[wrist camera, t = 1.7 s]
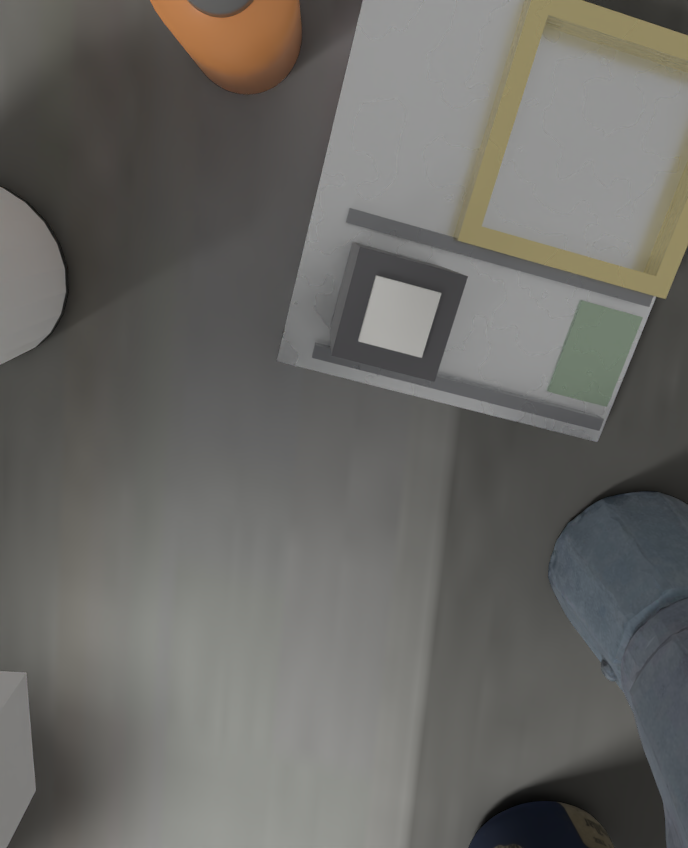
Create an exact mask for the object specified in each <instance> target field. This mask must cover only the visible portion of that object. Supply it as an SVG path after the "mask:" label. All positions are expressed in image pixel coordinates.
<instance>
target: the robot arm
mask: <svg viewBox="0 0 688 848" xmlns="http://www.w3.org/2000/svg"><path fill="white" fill-rule="evenodd" d="M35 791H36V785H35V772H34V760H33V747H32V735H31V722H30V710H29V697H28V685H27V672H9V671H0V848H7V846H8V844H9V842H10V840H11V838H12V836H13V834H14V833H15V831H16V829H17V827H18V825H19V823H20V821H21V819H22V817H23V815H24V813H25V811H26V809H27V807H28V805H29V803H30V801H31V799H32V797H33V795H34V793H35Z"/></svg>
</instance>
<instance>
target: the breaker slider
mask: <svg viewBox="0 0 688 848" xmlns="http://www.w3.org/2000/svg"><path fill="white" fill-rule="evenodd" d="M467 278H468V276H466V275H463V274H461V273H458V272H455V271H452V270H450V269H447V268H444V267H442V266H438V265H435V264H431V263H427V262H424V261H420V260H417V259H413V258H409V257H406V256H402V255H398V254H395V253H391V252H388V251H384V250H380V249H377V248H373V247H370V246H366V245H362V244H359V243H355V242H353V243H352V247H351V251H350V255H349V259H348V263H347V266H346V270H345V274H344V278H343V282H342V286H341V289H340V293H339V297H338V301H337V305H336V309H335V313H334V316H333V320H332V324H331V328H330V344H331V356H335V357H339V358H343V359H347V360H351V361H355V362H359V363H363V364H366V365H370V366H374V367H378V368H382V369H386V370H390V371H394V372H398V373H402V374H406V375H409V376H413V377H417V378H421V379H425V380H429V381H433V382H435V379H436V376H437V373H438V370H439V367H440V364H441V360H442V357H443V354H444V351H445V348H446V345H447V341H448V338H449V335H450V332H451V329H452V326H453V322H454V319H455V316H456V313H457V310H458V307H459V303H460V300H461V297H462V294H463V291H464V288H465V284H466V281H467Z"/></svg>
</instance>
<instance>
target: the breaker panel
mask: <svg viewBox="0 0 688 848" xmlns="http://www.w3.org/2000/svg"><path fill="white" fill-rule="evenodd" d="M353 242H355V243H359V244H362V245H366V246H370V247H373V248H377V249H380V250H384V251H388V252H391V253H395V254H398V255H402V256H406V257H409V258H413V259H417V260H420V261H424V262H427V263H431V264H435V265H438V266H442V267H444V268H447V269H450V270H452V271H455V272H458V273H461V274H463V275H466V276H468V278H467V281H466V284H465V288H464V291H463V294H462V297H461V300H460V303H459V307H458V310H457V313H456V316H455V319H454V322H453V326H452V329H451V332H450V335H449V338H448V341H447V345H446V348H445V351H444V354H443V357H442V360H441V364H440V367H439V370H438V373H437V376H436V379H435V382H433V381H429V380H425V379H421V378H417V377H413V376H409V375H406V374H402V373H398V372H394V371H390V370H386V369H382V368H378V367H374V366H370V365H366V364H363V363H359V362H355V361H351V360H347V359H343V358H339V357H335V356H331V344H330V328H331V324H332V320H333V316H334V313H335V309H336V305H337V301H338V297H339V293H340V289H341V286H342V282H343V278H344V274H345V270H346V266H347V263H348V259H349V255H350V251H351V247H352V243H353ZM687 246H688V35H685V34H682V33H679V32H676V31H673V30H670V29H667V28H664V27H661V26H658V25H655V24H652V23H649V22H646V21H643V20H640V19H637V18H634V17H631V16H628V15H625V14H622V13H619V12H616V11H613V10H610V9H607V8H604V7H601V6H598V5H595V4H592V3H589V2H586V1H583V0H363V1H362V6H361V10H360V14H359V18H358V22H357V26H356V31H355V35H354V39H353V43H352V47H351V52H350V56H349V60H348V64H347V68H346V73H345V77H344V81H343V85H342V89H341V93H340V98H339V102H338V106H337V110H336V114H335V119H334V123H333V127H332V131H331V135H330V140H329V144H328V148H327V152H326V156H325V160H324V165H323V169H322V173H321V177H320V181H319V186H318V190H317V194H316V198H315V202H314V207H313V211H312V215H311V219H310V223H309V228H308V232H307V236H306V240H305V244H304V248H303V253H302V257H301V261H300V265H299V269H298V274H297V278H296V282H295V286H294V290H293V295H292V299H291V303H290V307H289V311H288V315H287V320H286V324H285V328H284V332H283V336H282V341H281V345H280V349H279V353H278V357H277V361H278V362H282V363H286V364H290V365H294V366H298V367H302V368H306V369H310V370H314V371H318V372H322V373H326V374H330V375H333V376H337V377H341V378H345V379H349V380H353V381H357V382H361V383H365V384H369V385H373V386H377V387H381V388H385V389H389V390H393V391H397V392H401V393H405V394H409V395H413V396H417V397H421V398H425V399H429V400H433V401H436V402H440V403H444V404H448V405H452V406H456V407H460V408H464V409H468V410H472V411H476V412H480V413H484V414H488V415H492V416H496V417H500V418H504V419H508V420H512V421H516V422H520V423H524V424H528V425H532V426H536V427H540V428H543V429H547V430H551V431H555V432H559V433H563V434H567V435H571V436H575V437H579V438H583V439H587V440H591V441H595V442H598V440H599V437H600V435H601V432H602V430H603V427H604V425H605V422H606V420H607V417H608V415H609V412H610V410H611V407H612V405H613V403H614V400H615V398H616V395H617V393H618V390H619V388H620V385H621V383H622V380H623V378H624V375H625V373H626V370H627V368H628V365H629V363H630V361H631V358H632V356H633V353H634V351H635V348H636V346H637V343H638V341H639V338H640V336H641V333H642V331H643V328H644V326H645V323H646V321H647V318H648V316H649V314H650V311H651V309H652V306H653V304H654V301H655V299H656V297H658V298H663V299H666V297H667V295H668V292H669V290H670V287H671V285H672V282H673V280H674V278H675V275H676V273H677V270H678V268H679V265H680V263H681V260H682V258H683V256H684V253H685V251H686V248H687Z"/></svg>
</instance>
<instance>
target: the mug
mask: <svg viewBox="0 0 688 848" xmlns="http://www.w3.org/2000/svg"><path fill="white" fill-rule="evenodd" d="M67 296H68V271H67V265H66V262H65V259H64V255H63V252H62V249H61V246H60V243H59V242H58V240H57V238H56V237H55V235H54V233H53V232H52V230H51V228H50V226H49V225H48V223H47V222H46V221H45V220H44V219H43V218H42V216H41V215H40V214H39V213H38V212H37V211H36V210H35V209H34V208H33V207H32V206H31V205H30V204H29V203H28V202H26V201H25V200H23V199H22V198H20V197H19V196H17V195H16V194H14V193H13V192H11V191H9V190H8V189H6V188H3V187H1V186H0V365H1V364H3V363H5V362H7V361H9V360H11V359H13V358H15V357H17V356H19V355H21V354H23V353H25V352H27V351H29V350H31V349H33V348H35V347H37V346H38V345H40V344H41V343H42V342H43V341H44V340H45V339H46V338H47V337H48V336H49V335H50V334H51V333H52V332H53V331H54V329H55V327H56V326H57V324H58V322H59V320H60V318H61V317H62V315H63V313H64V309H65V304H66V300H67Z"/></svg>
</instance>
